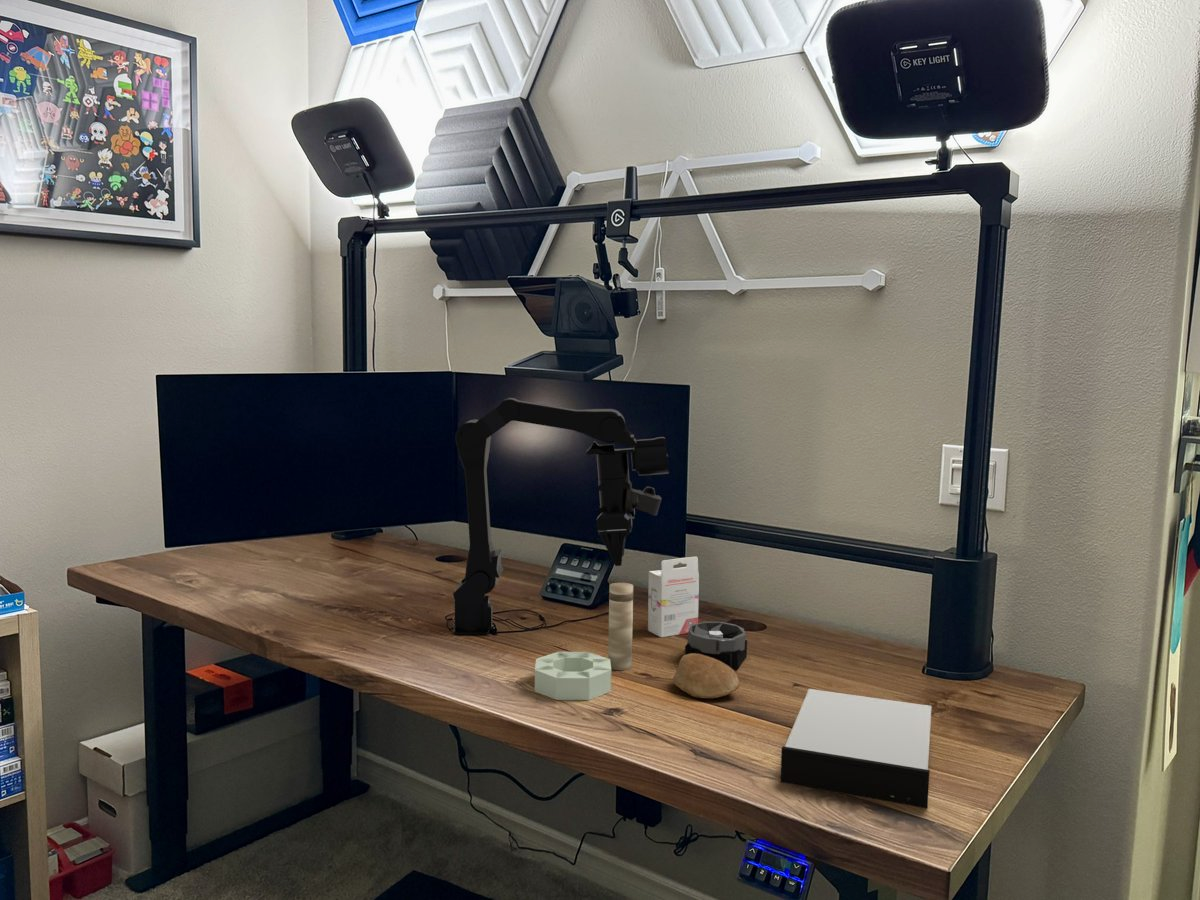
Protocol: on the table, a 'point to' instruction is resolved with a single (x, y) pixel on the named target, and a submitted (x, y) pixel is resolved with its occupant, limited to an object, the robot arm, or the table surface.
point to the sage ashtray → (572, 675)
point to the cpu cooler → (718, 642)
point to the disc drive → (860, 747)
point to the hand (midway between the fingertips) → (619, 560)
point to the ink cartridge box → (673, 597)
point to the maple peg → (620, 625)
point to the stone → (705, 676)
